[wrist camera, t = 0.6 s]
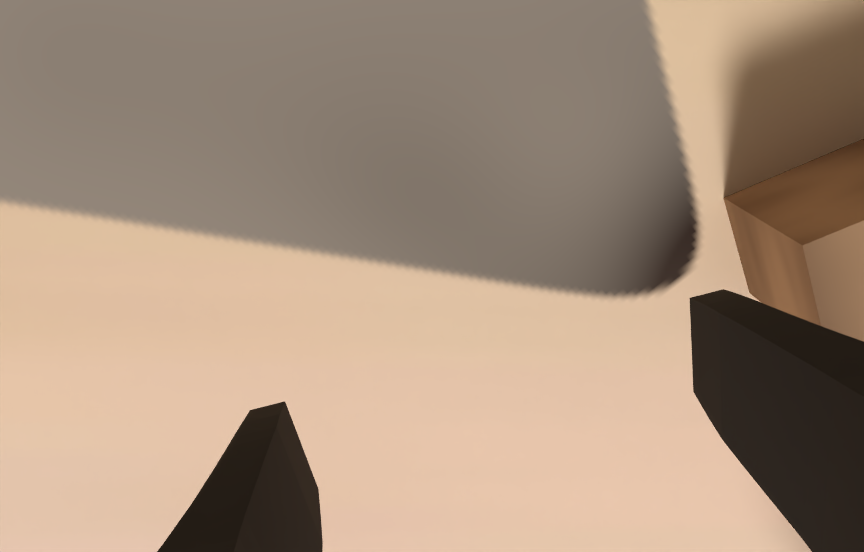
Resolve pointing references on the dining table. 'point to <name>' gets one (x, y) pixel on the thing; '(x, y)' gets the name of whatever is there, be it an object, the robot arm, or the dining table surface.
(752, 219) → the brown rectangular block
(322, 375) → the dining table surface
